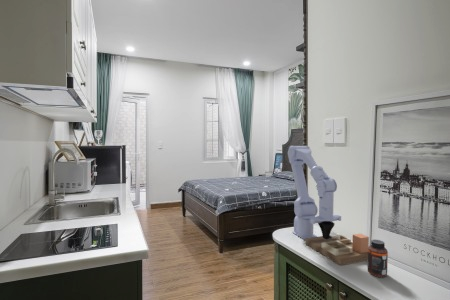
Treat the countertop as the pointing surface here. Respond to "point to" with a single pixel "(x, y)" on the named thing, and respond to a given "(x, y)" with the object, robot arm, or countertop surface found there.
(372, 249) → the supplement bottle
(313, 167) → the robot arm
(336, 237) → the block
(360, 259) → the wooden compartment tray
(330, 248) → the collar
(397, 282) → the countertop surface
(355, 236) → the terracotta rectangular block
